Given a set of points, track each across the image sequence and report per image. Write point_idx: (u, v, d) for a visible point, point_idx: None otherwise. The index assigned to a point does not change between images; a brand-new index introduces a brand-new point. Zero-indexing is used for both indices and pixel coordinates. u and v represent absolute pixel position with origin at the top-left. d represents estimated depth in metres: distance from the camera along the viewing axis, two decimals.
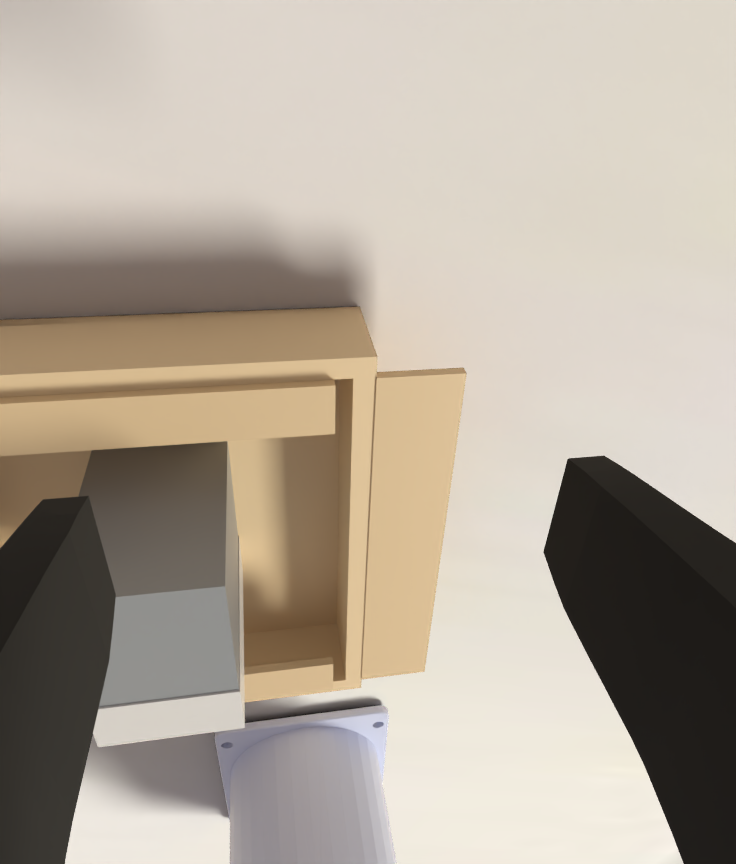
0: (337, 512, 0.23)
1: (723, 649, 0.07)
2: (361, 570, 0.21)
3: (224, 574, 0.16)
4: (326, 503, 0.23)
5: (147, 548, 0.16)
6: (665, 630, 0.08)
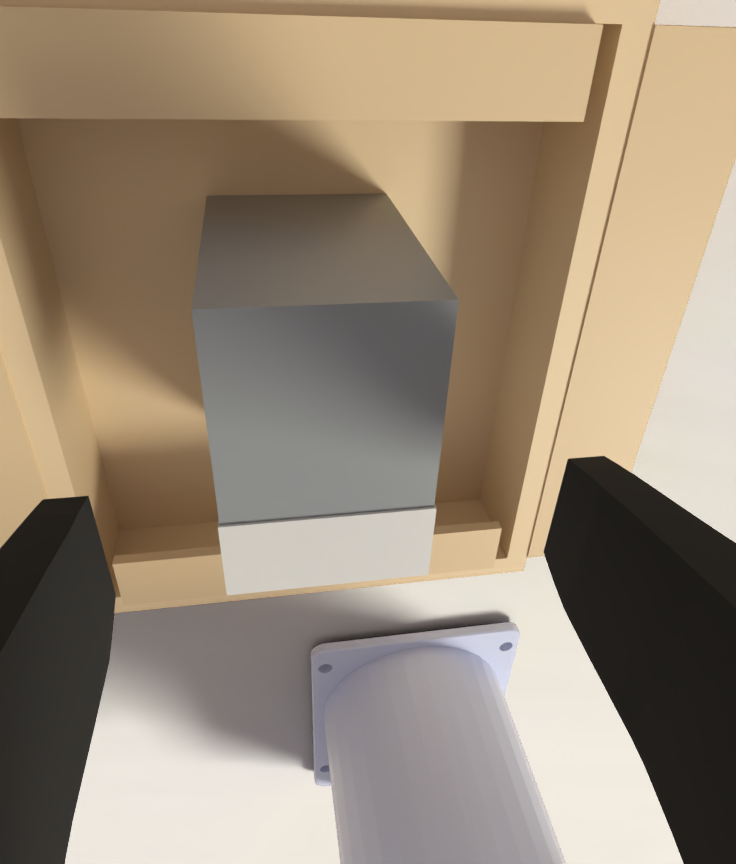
0: (508, 326, 0.17)
1: (723, 649, 0.07)
2: (562, 380, 0.15)
3: (450, 291, 0.10)
4: (497, 310, 0.17)
5: (323, 267, 0.11)
6: (665, 630, 0.08)
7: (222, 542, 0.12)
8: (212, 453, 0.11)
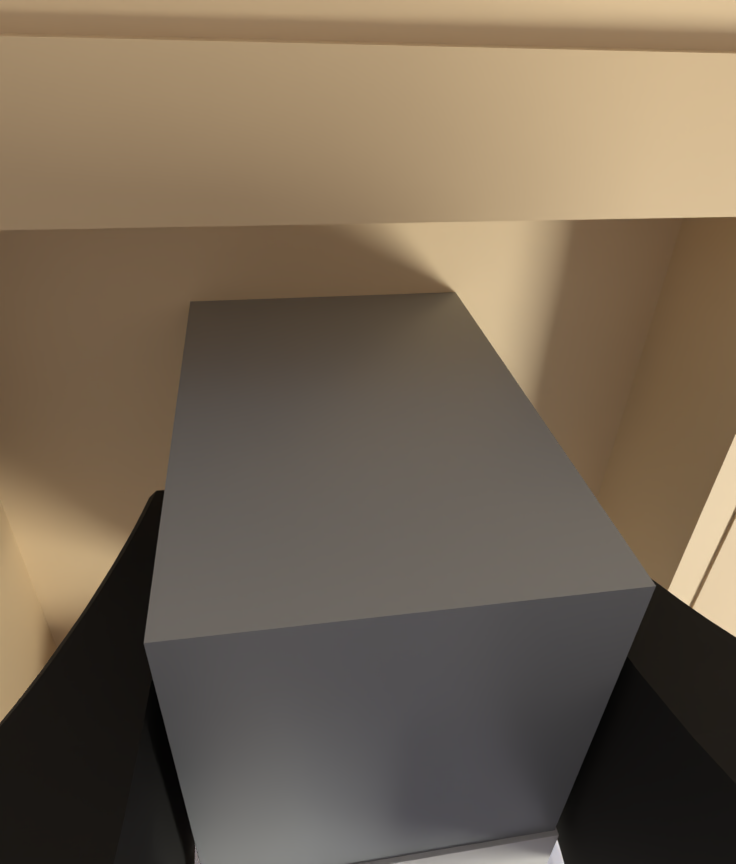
0: (610, 455, 0.13)
1: None
2: (705, 556, 0.11)
3: (629, 553, 0.06)
4: (596, 436, 0.12)
5: (386, 487, 0.06)
6: None
7: None
8: (192, 818, 0.06)
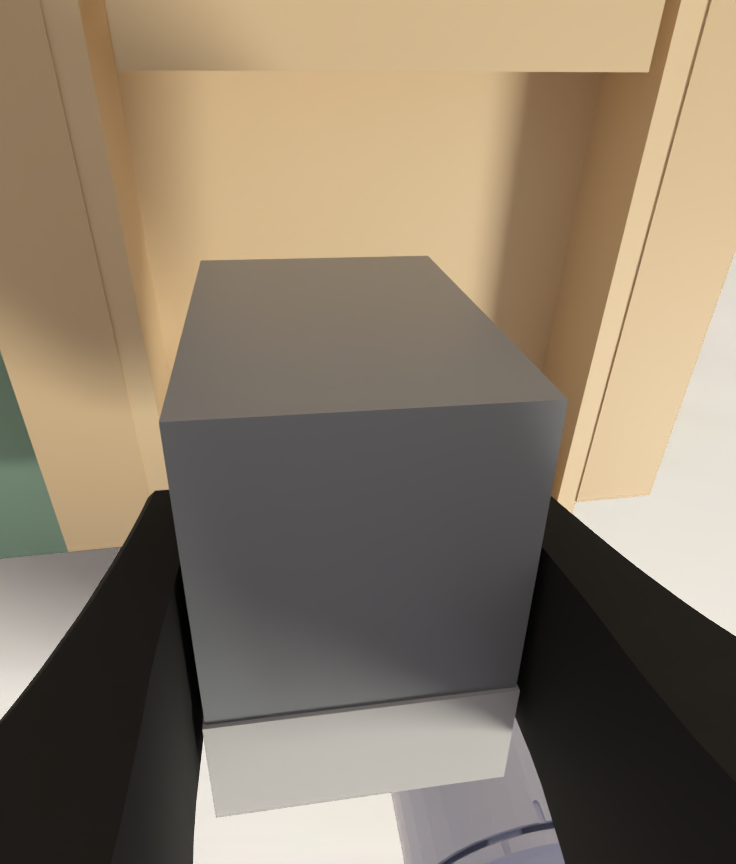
0: (560, 279, 0.18)
1: (595, 666, 0.07)
2: (616, 326, 0.16)
3: (550, 385, 0.07)
4: (549, 264, 0.18)
5: (357, 352, 0.08)
6: (551, 644, 0.08)
7: (209, 749, 0.08)
8: (193, 629, 0.07)
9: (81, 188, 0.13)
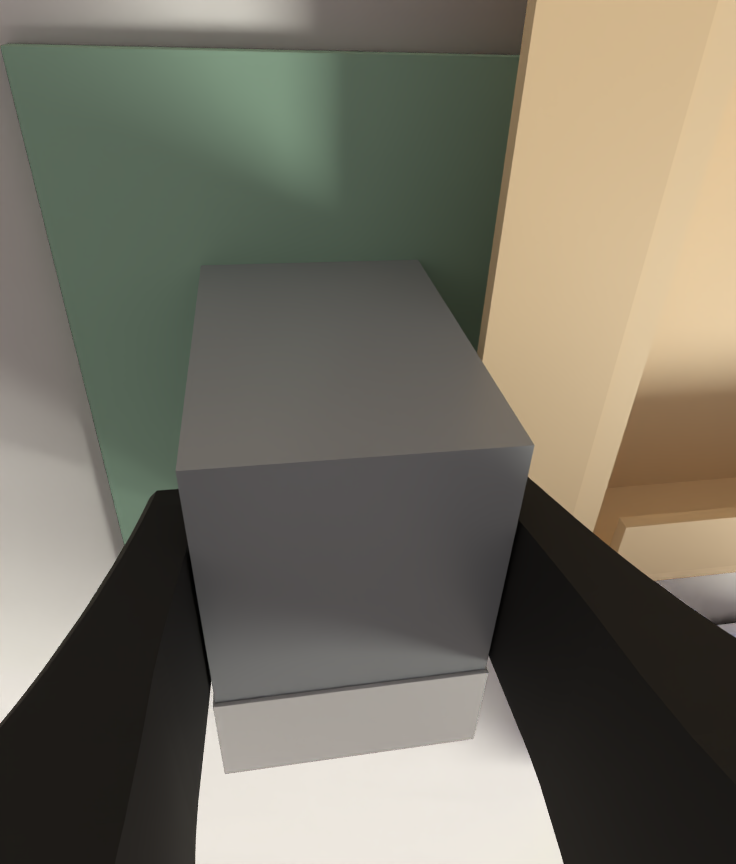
0: None
1: (594, 666, 0.07)
2: None
3: (520, 427, 0.08)
4: None
5: (350, 388, 0.08)
6: (550, 644, 0.08)
7: (219, 722, 0.09)
8: (205, 630, 0.08)
9: (692, 83, 0.09)
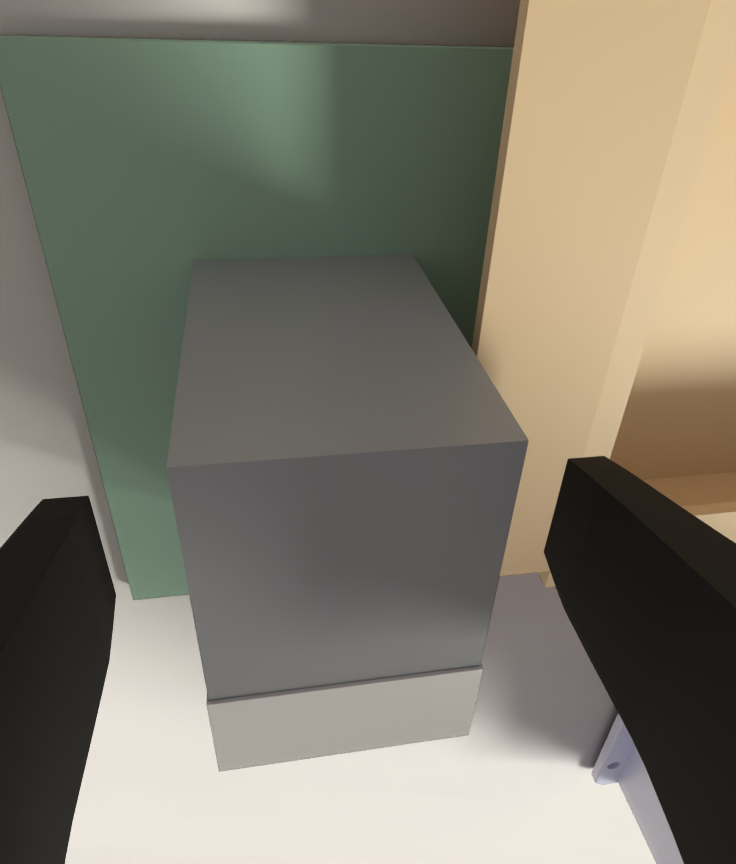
0: None
1: (723, 649, 0.07)
2: None
3: (514, 422, 0.08)
4: None
5: (342, 384, 0.08)
6: (664, 630, 0.08)
7: (212, 720, 0.09)
8: (198, 627, 0.08)
9: (687, 75, 0.09)
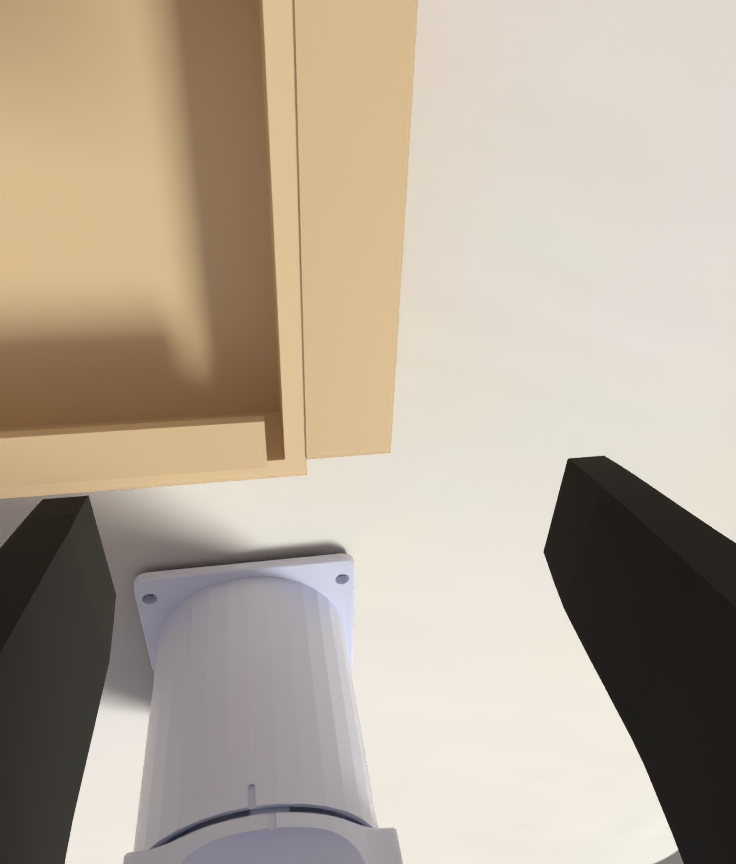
0: (268, 214, 0.17)
1: (723, 649, 0.07)
2: (293, 254, 0.15)
3: None
4: (252, 196, 0.17)
5: None
6: (664, 630, 0.08)
7: None
8: None
9: None
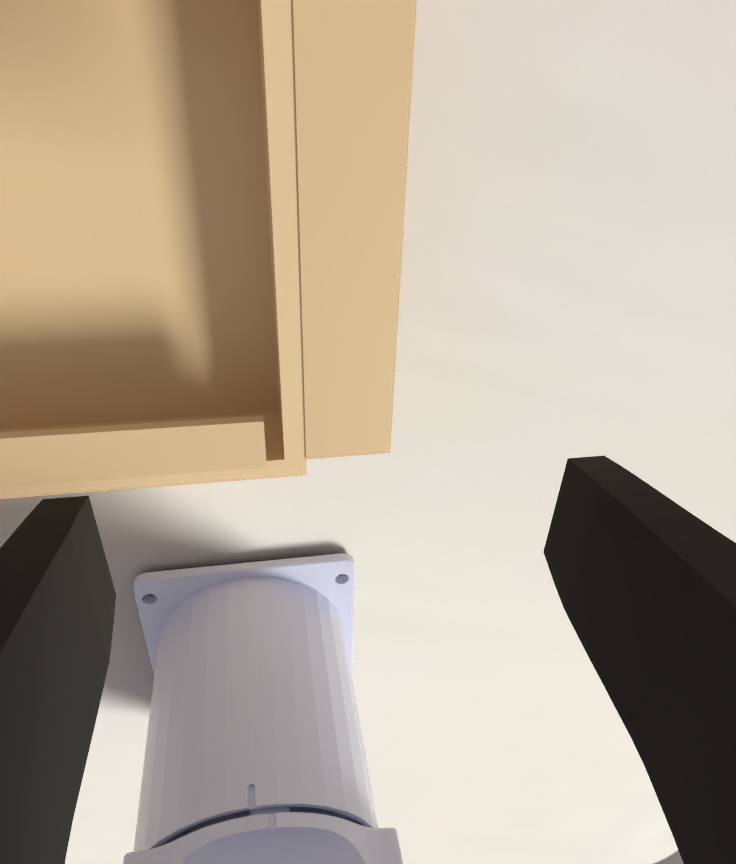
0: (267, 214, 0.17)
1: (723, 649, 0.07)
2: (292, 254, 0.15)
3: None
4: (251, 196, 0.17)
5: None
6: (664, 630, 0.08)
7: None
8: None
9: None
